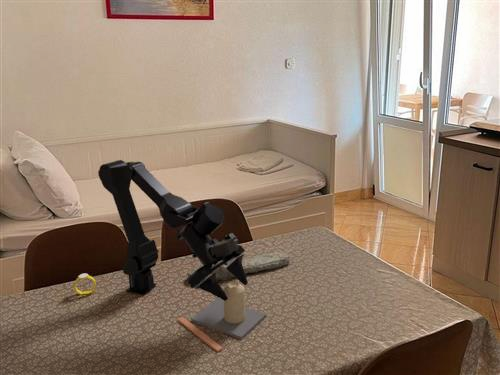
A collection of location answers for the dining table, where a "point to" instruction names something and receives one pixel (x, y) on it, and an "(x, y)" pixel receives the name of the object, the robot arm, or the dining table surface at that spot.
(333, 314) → the dining table surface
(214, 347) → the orange curved strip
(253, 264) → the long grey stone
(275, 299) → the dining table surface
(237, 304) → the candle
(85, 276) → the gold diamond ring
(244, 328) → the mat
